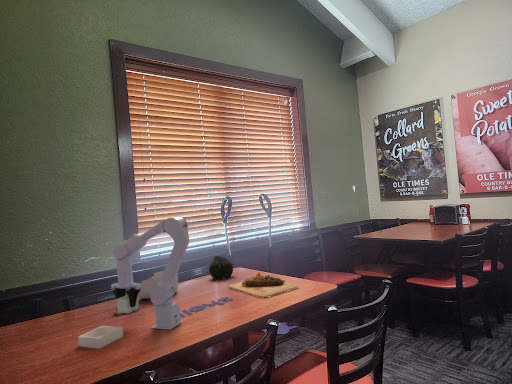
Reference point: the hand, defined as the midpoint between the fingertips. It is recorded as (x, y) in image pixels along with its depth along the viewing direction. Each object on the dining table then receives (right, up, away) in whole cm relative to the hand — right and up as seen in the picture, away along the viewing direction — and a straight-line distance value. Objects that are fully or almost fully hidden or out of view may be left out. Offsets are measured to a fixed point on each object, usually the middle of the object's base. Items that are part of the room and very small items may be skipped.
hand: (127, 306), depth 137 cm
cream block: (0, -10, +47) cm, 48 cm away
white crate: (-5, -9, -13) cm, 16 cm away
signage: (+30, -7, +18) cm, 35 cm away
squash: (+31, -8, +76) cm, 83 cm away
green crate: (0, -2, 0) cm, 2 cm away
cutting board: (+56, -5, +42) cm, 70 cm away
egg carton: (-9, -11, +23) cm, 27 cm away
